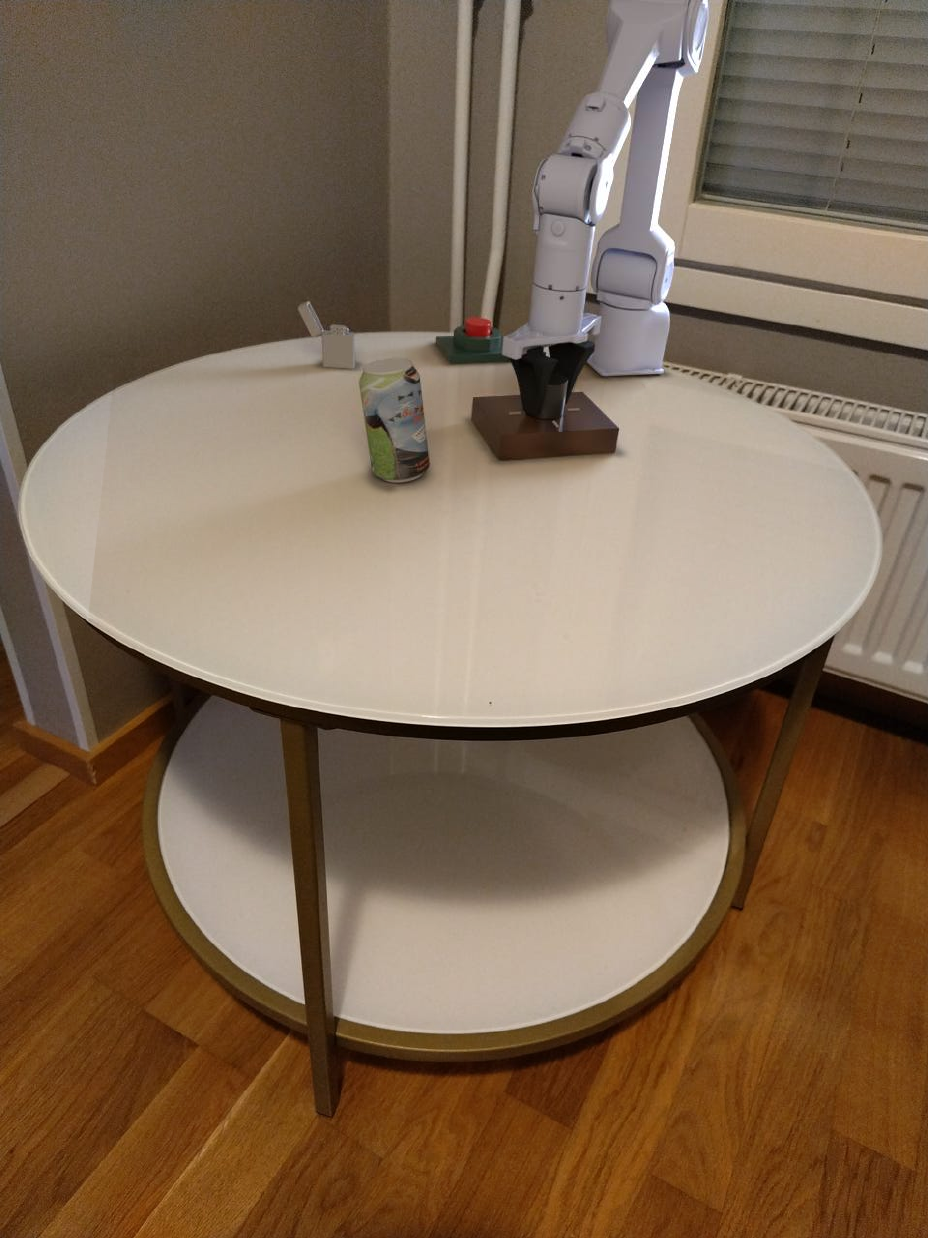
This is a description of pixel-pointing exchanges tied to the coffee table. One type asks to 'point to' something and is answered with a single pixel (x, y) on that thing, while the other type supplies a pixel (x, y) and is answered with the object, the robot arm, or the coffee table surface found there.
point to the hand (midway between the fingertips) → (544, 407)
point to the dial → (554, 397)
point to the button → (478, 327)
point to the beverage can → (394, 419)
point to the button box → (472, 347)
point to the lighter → (331, 340)
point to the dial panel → (543, 428)
